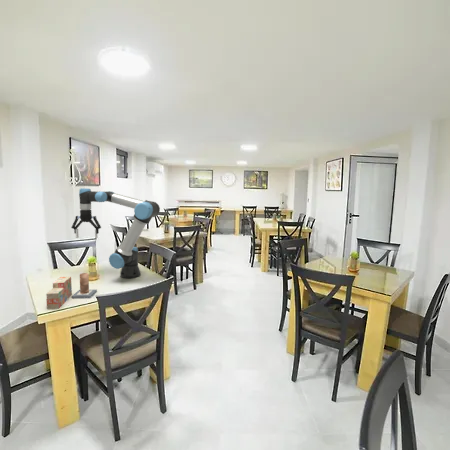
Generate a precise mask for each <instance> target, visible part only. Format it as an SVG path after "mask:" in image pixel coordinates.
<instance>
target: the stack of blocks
mask: <svg viewBox="0 0 450 450" xmlns="http://www.w3.org/2000/svg"><path fill="white" fill-rule="evenodd" d="M45 296H46V309H47V310H55V309H56V310H57V309H58V310H59V309H60V308H61V307H62V306H63V305H64V304H65V303H66V301H68V299H70V298H71V297H72V296H73V290H72V276H60V277H59V278H57V279H56V280H55V281H53V282H52V288H51V289H50V290H49V291H48V292H47V293H46V294H45Z"/></svg>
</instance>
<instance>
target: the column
mask: <svg viewBox="0 0 450 450" xmlns="http://www.w3.org/2000/svg"><path fill="white" fill-rule="evenodd" d="M89 279H90V277H89V273H88V272H83V273H80V274H79V290H80V293H81V294H86V293H89V290H90V283H89V282H90V281H89Z"/></svg>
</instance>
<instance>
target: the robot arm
mask: <svg viewBox="0 0 450 450" xmlns="http://www.w3.org/2000/svg"><path fill="white" fill-rule="evenodd" d="M78 191H79V192H78V196H79V197H78V198H79V209H80V210H79V215H76V216H75V218H74V221H73V223H72V226H71V229H73V231H74V233H73V234H75V238H76V239H78V238H79V227H80V226H81V225H82V223H89V224H90V225H91V226H93V228H94V237H95V238H94V239H98V234H99V231H100V229H102V226H101V224H100V223H99V221H98V219H97V215H94V216H93V215H92V213H93V212H92V203H106V202H109V203H111V204H116V205H118V206H119V205H120V206H124V207H127V208H130V209H134V214H133V218H134V219H133V221H132V223H131V225H130V227H129V228H128V231H127V232H126V234H125V236H124V238H123V240H122V242H121V244H120V246H119V245H118V246H117V247H116V249H115V251H114V252H113V253H111V254H110V255H109V257H108V263H109V264H110V266H111V267H113V268H114V269H118V270H119V269H121V270H120V278H123V279H133V278H138V277H140V276H141V270H140V267H139V248H138V247H137V246H136V243H137V242H138V240H139V237H140V236H141V234H142V232H143V231H144V228H145V227H146V225H149V224H150V222H151V220H152V219H153V218H155V217H157V216H158V215H159V214H160V211H161V208H160V205H159V204H158V203H157V202H156V201H151V200H147V199H145V200H142V199H138V198H135V197H131V196H127V195H124V194H119V193H115V192H113V191H101V190H100V191H92V190H91V188H85V187H84V188H81V187H80V188H79V190H78ZM92 219H93V220H92ZM78 221H79V222H78Z"/></svg>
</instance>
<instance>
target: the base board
mask: <svg viewBox="0 0 450 450" xmlns="http://www.w3.org/2000/svg"><path fill="white" fill-rule="evenodd" d="M97 292H98V289H89V293H86V294H81V293H80V289H78V290H77V291H76V292H75V293H73V294H72V295H71V300H72V299H92V297H93V296H94V295H95V294H96V293H97Z"/></svg>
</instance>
